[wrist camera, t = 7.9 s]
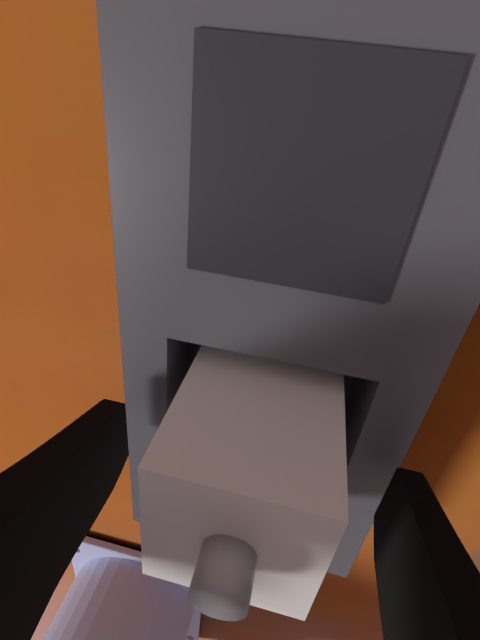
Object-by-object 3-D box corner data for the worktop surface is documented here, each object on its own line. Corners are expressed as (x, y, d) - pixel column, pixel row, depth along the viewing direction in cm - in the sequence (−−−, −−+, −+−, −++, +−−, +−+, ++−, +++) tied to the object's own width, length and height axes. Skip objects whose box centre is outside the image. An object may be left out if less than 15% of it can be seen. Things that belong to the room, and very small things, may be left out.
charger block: (315, 430, 14) (301, 676, 8) (209, 406, 15) (123, 620, 9) (342, 340, 12) (350, 582, 6) (217, 315, 12) (112, 515, 7)
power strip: (344, 502, 16) (346, 593, 13) (163, 457, 17) (127, 532, 14) (665, -299, 6) (1001, -697, 3) (160, -298, 7) (27, -592, 4)
